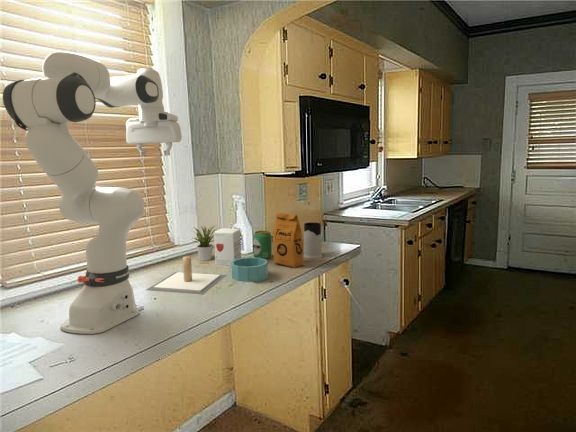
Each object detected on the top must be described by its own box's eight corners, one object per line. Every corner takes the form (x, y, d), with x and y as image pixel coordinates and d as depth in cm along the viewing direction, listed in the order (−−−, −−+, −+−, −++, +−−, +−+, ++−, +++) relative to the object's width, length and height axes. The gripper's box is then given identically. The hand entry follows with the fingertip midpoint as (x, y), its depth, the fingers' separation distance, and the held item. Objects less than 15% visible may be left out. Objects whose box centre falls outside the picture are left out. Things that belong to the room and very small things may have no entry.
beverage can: (250, 258, 191) (249, 232, 189) (264, 254, 196) (263, 229, 194) (261, 261, 185) (260, 234, 183) (275, 258, 190) (274, 232, 188)
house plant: (227, 255, 197) (226, 220, 194) (219, 263, 183) (218, 226, 180) (197, 254, 198) (196, 220, 195) (188, 262, 184) (186, 226, 182)
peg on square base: (200, 291, 145) (198, 265, 144) (153, 288, 150) (151, 262, 148) (220, 276, 163) (219, 252, 161) (177, 273, 167) (176, 250, 165)
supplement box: (214, 266, 179) (213, 231, 176) (222, 260, 187) (221, 227, 185) (234, 267, 177) (233, 232, 174) (241, 261, 185) (240, 228, 183)
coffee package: (292, 269, 172) (292, 217, 168) (270, 264, 180) (269, 214, 176) (307, 264, 180) (307, 213, 176) (285, 259, 188) (284, 211, 184)
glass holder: (299, 256, 192) (299, 224, 190) (314, 250, 204) (314, 219, 201) (316, 259, 187) (316, 226, 185) (330, 252, 199) (331, 221, 196)
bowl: (261, 283, 155) (261, 268, 154) (226, 281, 158) (225, 266, 157) (271, 272, 168) (271, 258, 167) (238, 270, 171) (238, 256, 170)
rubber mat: (203, 295, 143) (203, 294, 143) (145, 291, 148) (145, 290, 148) (226, 276, 164) (226, 275, 164) (175, 273, 169) (175, 271, 169)
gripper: (120, 117, 149) (124, 157, 151) (174, 114, 145) (177, 155, 147) (130, 119, 155) (133, 157, 157) (182, 116, 151) (184, 154, 153)
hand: (155, 156), depth 152 cm, fingers open, 8 cm apart
